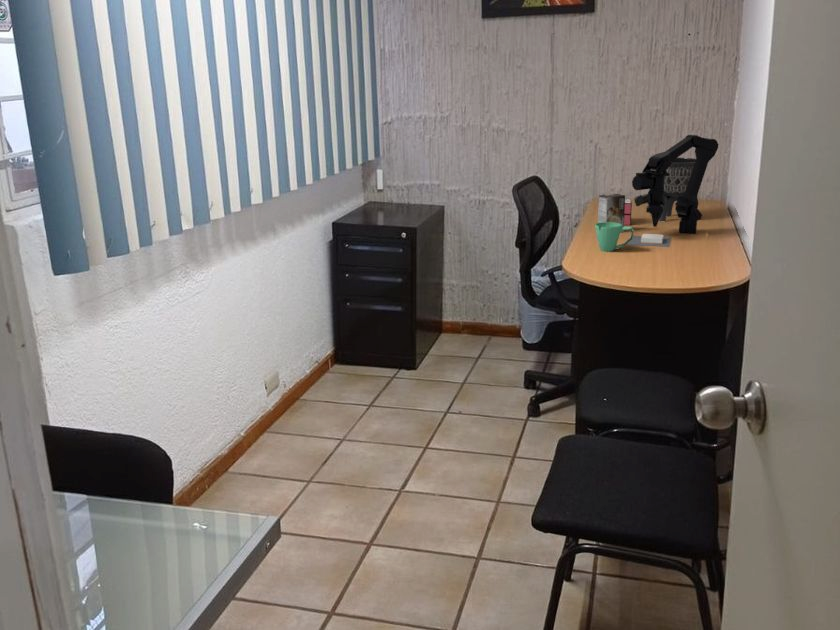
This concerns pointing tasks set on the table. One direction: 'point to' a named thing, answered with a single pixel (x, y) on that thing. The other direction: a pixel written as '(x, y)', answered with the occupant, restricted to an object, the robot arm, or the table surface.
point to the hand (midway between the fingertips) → (654, 226)
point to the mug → (610, 235)
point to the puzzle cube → (627, 212)
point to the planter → (676, 183)
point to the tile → (652, 238)
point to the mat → (637, 242)
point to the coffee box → (611, 208)
